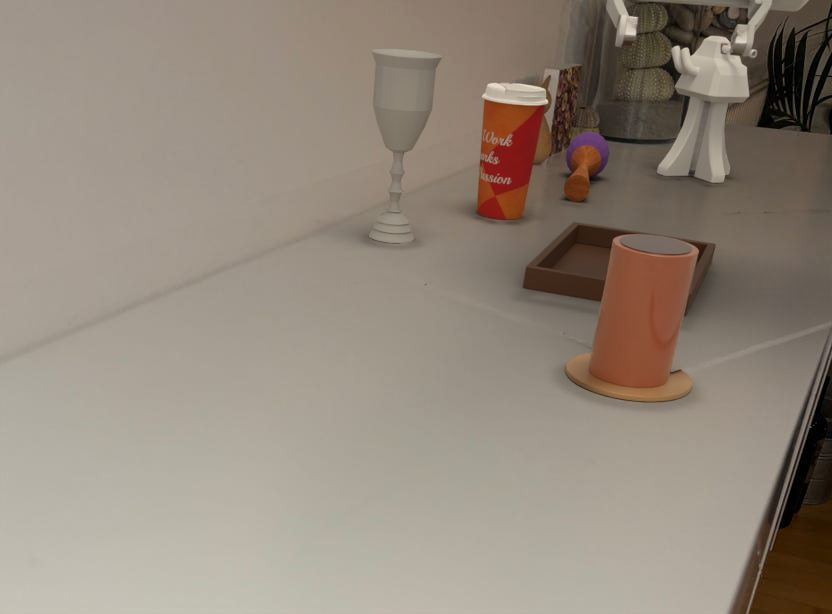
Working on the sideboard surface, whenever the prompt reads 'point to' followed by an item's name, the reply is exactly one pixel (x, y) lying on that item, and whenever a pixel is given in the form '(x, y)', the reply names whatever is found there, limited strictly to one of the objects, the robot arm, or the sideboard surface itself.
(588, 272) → the tray
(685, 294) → the cup
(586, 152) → the maraca
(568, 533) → the sideboard surface
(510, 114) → the paper cup
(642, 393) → the coaster
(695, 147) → the white mech figurine
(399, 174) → the chalice
